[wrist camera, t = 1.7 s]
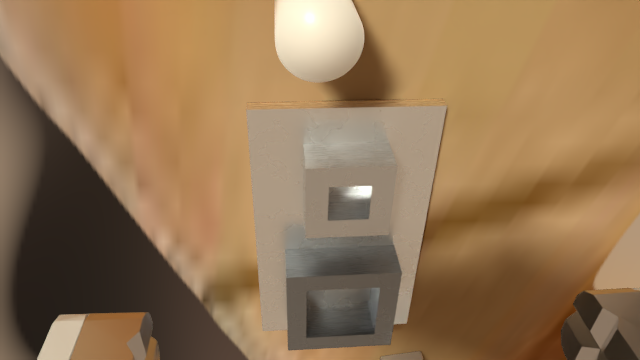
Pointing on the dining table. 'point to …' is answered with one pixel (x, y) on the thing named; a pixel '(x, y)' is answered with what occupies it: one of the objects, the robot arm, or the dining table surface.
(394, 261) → the fitting board
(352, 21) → the white rounded cylinder
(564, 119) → the dining table surface
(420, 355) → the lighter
